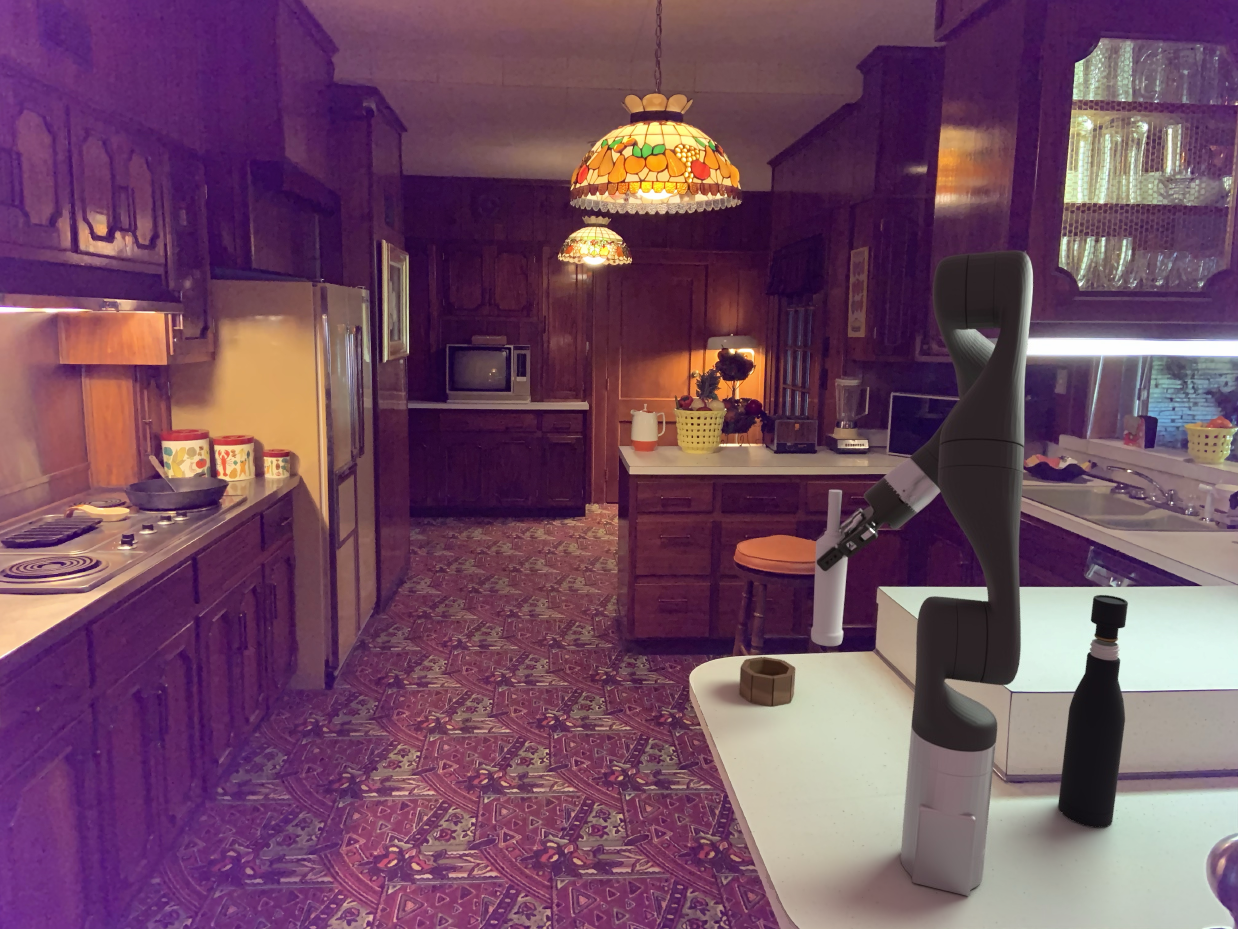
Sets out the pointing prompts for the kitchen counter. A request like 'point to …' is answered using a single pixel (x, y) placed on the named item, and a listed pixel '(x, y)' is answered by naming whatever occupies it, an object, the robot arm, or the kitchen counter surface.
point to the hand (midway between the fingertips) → (819, 561)
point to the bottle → (829, 582)
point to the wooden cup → (767, 681)
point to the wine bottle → (1096, 724)
